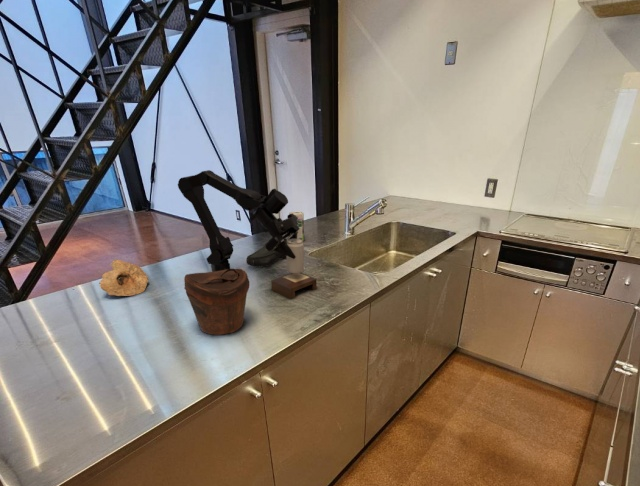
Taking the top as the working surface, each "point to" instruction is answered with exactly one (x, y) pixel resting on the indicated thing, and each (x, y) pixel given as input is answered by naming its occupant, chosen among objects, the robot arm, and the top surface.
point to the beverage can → (298, 249)
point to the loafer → (264, 257)
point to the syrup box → (299, 224)
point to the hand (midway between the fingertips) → (298, 255)
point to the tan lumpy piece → (124, 279)
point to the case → (218, 299)
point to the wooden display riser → (292, 284)
